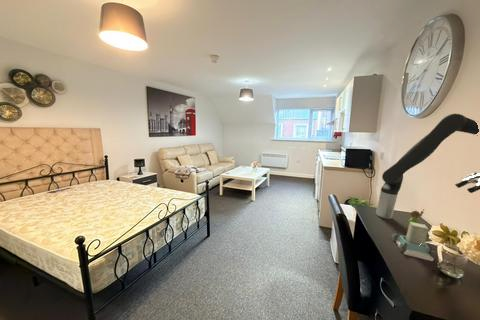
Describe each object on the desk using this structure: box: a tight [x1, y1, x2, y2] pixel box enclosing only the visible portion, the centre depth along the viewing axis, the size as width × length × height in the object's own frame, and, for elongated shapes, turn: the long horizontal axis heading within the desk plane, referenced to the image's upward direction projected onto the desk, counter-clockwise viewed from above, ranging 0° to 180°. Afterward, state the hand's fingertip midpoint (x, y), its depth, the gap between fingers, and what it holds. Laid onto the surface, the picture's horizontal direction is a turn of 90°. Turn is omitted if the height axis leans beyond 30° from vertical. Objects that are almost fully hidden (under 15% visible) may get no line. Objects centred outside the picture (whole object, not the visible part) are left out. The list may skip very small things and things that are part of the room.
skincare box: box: [405, 222, 429, 246], centre depth 97 cm, size 6×4×12 cm
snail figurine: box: [407, 208, 425, 224], centre depth 123 cm, size 5×6×12 cm
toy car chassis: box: [391, 233, 438, 262], centre depth 99 cm, size 14×13×4 cm
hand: (462, 188), depth 96 cm, fingers open, 8 cm apart
